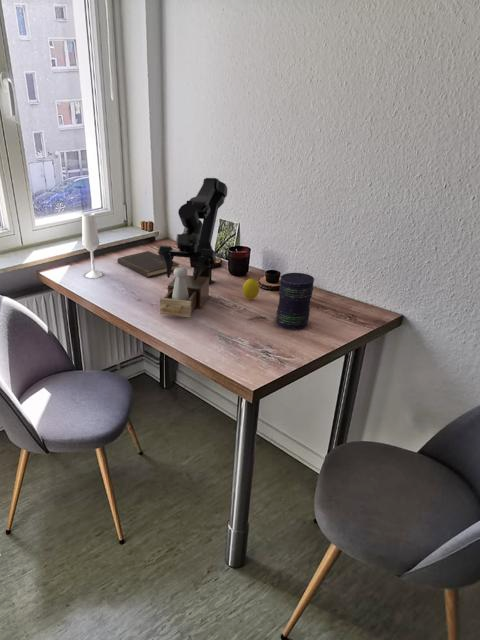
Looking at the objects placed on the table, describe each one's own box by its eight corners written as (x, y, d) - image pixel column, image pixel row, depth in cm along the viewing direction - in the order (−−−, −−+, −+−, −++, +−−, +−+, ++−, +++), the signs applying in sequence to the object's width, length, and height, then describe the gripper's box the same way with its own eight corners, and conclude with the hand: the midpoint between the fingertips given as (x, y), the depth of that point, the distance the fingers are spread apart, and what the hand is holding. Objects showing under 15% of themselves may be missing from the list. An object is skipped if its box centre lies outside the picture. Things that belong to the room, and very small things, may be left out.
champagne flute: (105, 273, 205) (100, 213, 192) (95, 278, 200) (89, 217, 187) (92, 271, 208) (86, 211, 195) (82, 276, 203) (75, 215, 190)
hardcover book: (148, 255, 222) (148, 250, 221) (179, 269, 206) (179, 263, 205) (117, 263, 215) (117, 258, 214) (147, 277, 199) (146, 272, 197)
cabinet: (200, 308, 171) (200, 288, 167) (167, 304, 175) (167, 285, 171) (208, 296, 180) (209, 277, 177) (177, 292, 184) (177, 274, 180)
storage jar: (302, 332, 153) (308, 286, 145) (271, 326, 157) (275, 280, 149) (311, 320, 160) (318, 275, 152) (281, 314, 164) (286, 270, 156)
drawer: (186, 322, 160) (186, 307, 157) (155, 318, 163) (155, 303, 160) (198, 305, 171) (199, 290, 168) (169, 302, 175) (169, 287, 172)
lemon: (259, 298, 177) (261, 276, 173) (255, 304, 173) (257, 281, 168) (244, 296, 179) (246, 274, 175) (240, 301, 175) (241, 280, 170)
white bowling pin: (174, 301, 172) (174, 264, 165) (190, 303, 170) (191, 266, 163) (169, 308, 167) (169, 270, 160) (186, 310, 166) (186, 271, 159)
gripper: (159, 221, 163) (148, 264, 160) (215, 224, 157) (205, 269, 154) (167, 238, 174) (157, 279, 171) (219, 242, 168) (210, 285, 165)
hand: (181, 278), depth 165 cm, fingers open, 9 cm apart
